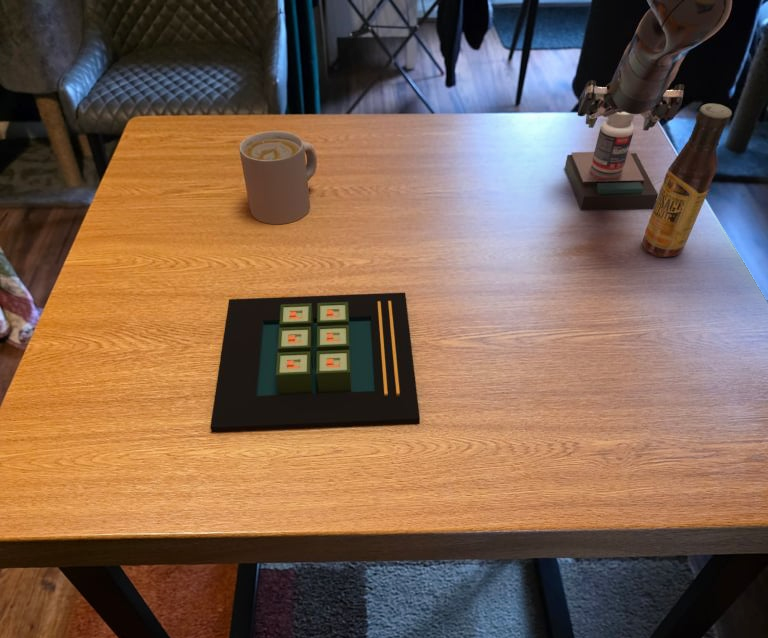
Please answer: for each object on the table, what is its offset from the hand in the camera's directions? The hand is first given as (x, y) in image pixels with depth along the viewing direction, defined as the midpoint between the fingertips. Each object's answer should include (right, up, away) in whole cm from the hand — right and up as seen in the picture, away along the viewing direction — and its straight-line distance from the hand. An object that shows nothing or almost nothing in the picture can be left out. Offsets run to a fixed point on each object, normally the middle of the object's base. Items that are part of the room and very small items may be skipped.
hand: (618, 122), depth 105 cm
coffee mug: (-53, -11, +5) cm, 55 cm away
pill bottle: (0, -4, +5) cm, 7 cm away
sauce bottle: (+5, -22, -4) cm, 23 cm away
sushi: (-46, -42, -19) cm, 66 cm away
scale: (0, -7, +7) cm, 10 cm away
